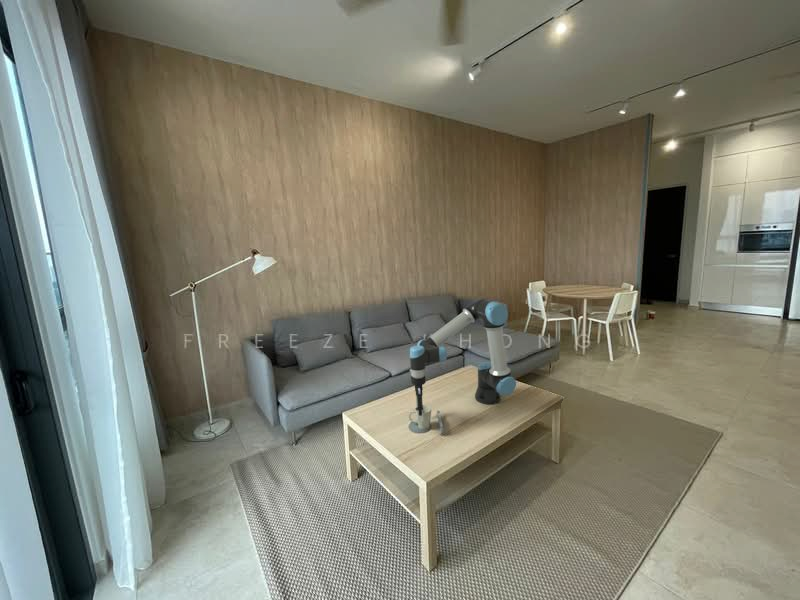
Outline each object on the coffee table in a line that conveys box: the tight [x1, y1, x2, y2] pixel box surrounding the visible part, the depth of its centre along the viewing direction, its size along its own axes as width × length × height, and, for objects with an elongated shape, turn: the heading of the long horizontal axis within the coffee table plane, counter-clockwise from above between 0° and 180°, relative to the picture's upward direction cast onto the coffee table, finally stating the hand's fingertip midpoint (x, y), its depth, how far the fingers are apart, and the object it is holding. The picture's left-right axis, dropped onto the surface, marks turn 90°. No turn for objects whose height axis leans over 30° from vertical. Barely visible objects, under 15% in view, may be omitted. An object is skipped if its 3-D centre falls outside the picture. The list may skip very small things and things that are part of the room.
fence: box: [436, 410, 445, 437], centre depth 168 cm, size 2×18×4 cm, turn 0°
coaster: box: [408, 419, 432, 434], centre depth 169 cm, size 12×12×1 cm
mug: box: [407, 404, 432, 429], centre depth 168 cm, size 8×13×10 cm, turn 78°
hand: (419, 413), depth 168 cm, fingers open, 13 cm apart
